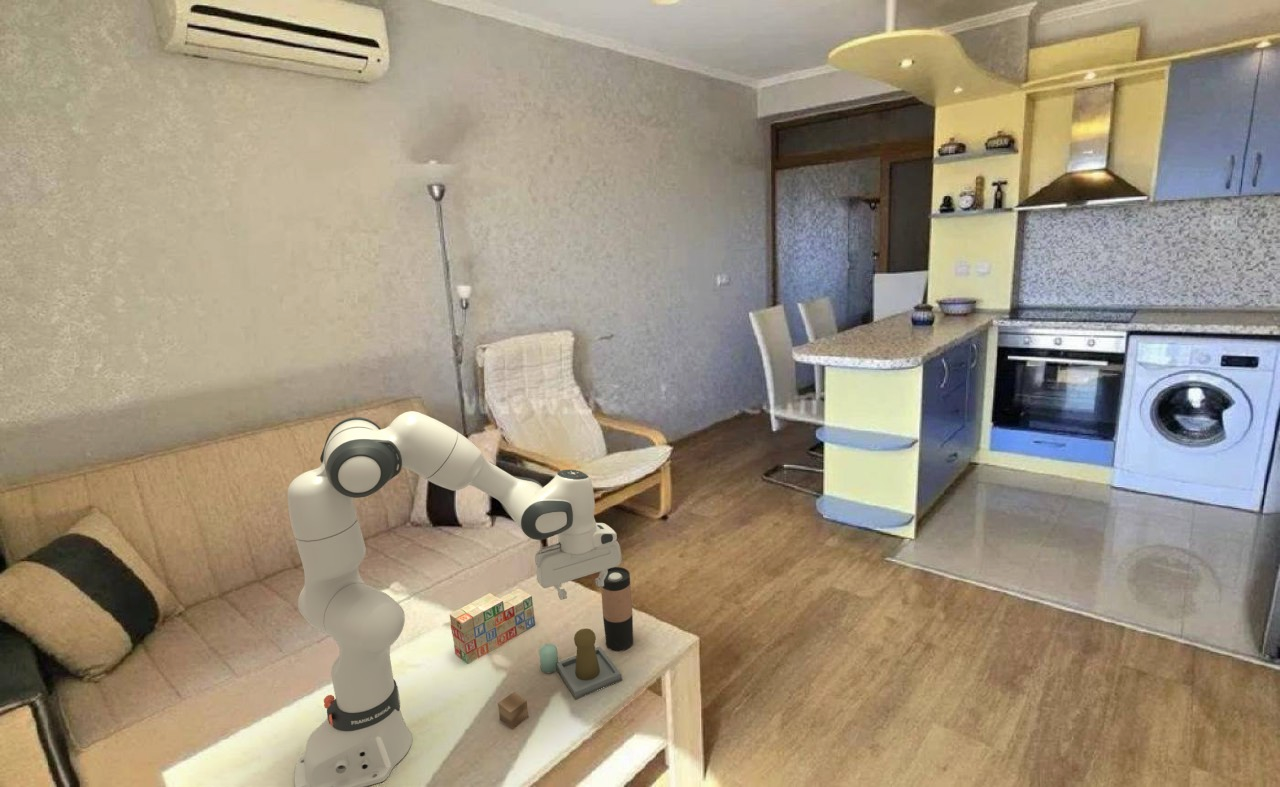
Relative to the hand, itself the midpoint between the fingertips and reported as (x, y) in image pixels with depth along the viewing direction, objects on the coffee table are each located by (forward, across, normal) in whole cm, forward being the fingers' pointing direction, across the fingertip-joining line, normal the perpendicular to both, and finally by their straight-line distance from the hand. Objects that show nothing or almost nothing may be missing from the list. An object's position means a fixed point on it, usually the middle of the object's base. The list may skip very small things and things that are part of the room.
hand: (581, 591), depth 145 cm
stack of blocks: (+23, -15, +26) cm, 38 cm away
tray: (+23, 0, 0) cm, 23 cm away
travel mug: (+23, +12, +7) cm, 27 cm away
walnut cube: (+23, -20, -4) cm, 31 cm away
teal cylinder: (+23, -7, +8) cm, 25 cm away
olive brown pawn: (+22, 0, 0) cm, 22 cm away
